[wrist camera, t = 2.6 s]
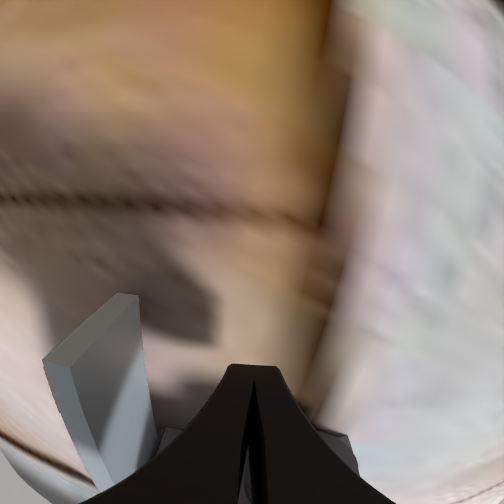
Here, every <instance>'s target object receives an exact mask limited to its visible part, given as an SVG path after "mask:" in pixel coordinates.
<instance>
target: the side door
mask: <svg viewBox="0 0 504 504" xmlns="http://www.w3.org/2000/svg"><path fill="white" fill-rule="evenodd" d="M42 361H43V365H44V371H45V374H46V377H47V380H48V383H49V386H50V389H51V392H52V394H53V397H54V400H55V403H56V405H57V408H58V410H59V413H61V416H62V418H63V421H64V423H65V425H66V428H67V430H68V432H69V435H70V437H71V439H72V441H73V443H74V445H75V447H76V450H77V452H78V454H79V456H80V458H81V460H82V462H83V464H84V465H85V467H86V469H87V471H88V473H89V475H90V477H91V478H92V480H93V482H94V484H95V485H96V487H97V489H98V490H99V492H100V493H101V492H103V491H105V490H107V489H108V488H110V487H112V486H114V485H115V484H117V483H119V482H121V481H122V480H124V479H125V478H127V477H128V476H130V475H131V474H133V473H134V472H135V471H137V470H138V469H139V468H141V467H142V466H143V465H145V464H146V463H147V462H149V461H150V460H151V459H153V458H154V457H155V456H156V454H157V452H158V449H159V443H158V438H157V433H156V428H155V423H154V417H153V412H152V406H151V400H150V394H149V387H148V381H147V374H146V366H145V358H144V350H143V341H142V331H141V320H140V308H139V295H132V294H124V293H116V294H115V295H114V296H112V297H111V298H110V299H109V300H108V301H107V302H105V303H104V304H103V305H102V306H101V307H100V308H98V309H97V310H96V311H95V312H94V313H93V314H92V315H91V316H89V317H88V318H87V319H86V320H85V321H84V322H83V323H81V324H80V325H79V326H78V327H77V328H76V329H75V330H74V331H73V332H71V333H70V334H69V335H68V336H67V337H66V338H65V339H64V340H63V341H62V342H61V343H59V344H58V345H57V346H56V347H55V348H54V349H53V350H52V351H51V352H50V353H49V354H48V355H47V356H45V357H44V358H43V359H42Z"/></svg>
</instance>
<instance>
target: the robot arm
mask: <svg viewBox="0 0 504 504" xmlns="http://www.w3.org/2000/svg"><path fill="white" fill-rule="evenodd" d="M247 449H248V454H249V470H250V485H251V499H252V504H396V503H394V502H393V501H391V500H390V499H389V498H387V497H386V496H384V495H383V494H382V493H380V492H379V491H377V490H376V489H375V488H373V487H372V486H371V485H369V484H368V483H367V482H366V481H364V480H363V479H362V478H361V477H360V476H359V475H358V474H357V473H355V472H354V471H353V470H352V469H351V468H350V467H349V466H348V465H347V464H346V463H345V462H344V461H343V460H342V459H341V458H340V457H339V456H338V455H337V454H336V453H335V452H334V451H333V450H332V449H331V447H330V446H329V445H328V444H327V443H326V442H325V440H324V439H323V438H322V437H321V436H320V434H319V433H318V432H317V431H316V429H315V428H314V427H313V425H312V424H311V423H310V421H309V420H308V418H307V417H306V415H305V414H304V412H303V411H302V409H301V408H300V406H299V405H298V403H297V402H296V400H295V398H294V397H293V395H292V393H291V392H290V390H289V388H288V386H287V384H286V382H285V380H284V378H283V376H282V374H281V372H280V370H279V369H278V367H277V366H260V365H245V364H231V365H229V366H228V367H227V370H226V372H225V374H224V376H223V378H222V380H221V381H220V383H219V385H218V386H217V388H216V389H215V391H214V392H213V394H212V395H211V397H210V398H209V399H208V401H207V402H206V403H205V405H204V406H203V407H202V409H201V410H200V411H199V413H198V414H197V415H196V416H195V417H194V418H193V419H192V421H191V422H190V423H189V424H188V425H187V426H186V427H185V429H184V430H183V431H182V432H181V433H180V434H179V435H178V436H177V437H176V438H175V439H174V440H173V441H172V442H171V443H170V444H169V445H168V446H166V447H165V448H164V449H163V450H162V451H161V452H160V453H159V454H157V455H156V456H155V457H154V458H153V459H151V460H150V461H149V462H147V463H146V464H145V465H143V466H142V467H141V468H139V469H138V470H137V471H135V472H134V473H133V474H131V475H130V476H128V477H127V478H125V479H124V480H122V481H121V482H119V483H117V484H115V485H114V486H112V487H110V488H108V489H107V490H105V491H103V492H101V493H99V494H97V495H95V496H94V497H92V498H90V499H88V500H86V501H84V502H82V503H79V504H238V500H239V494H240V489H241V483H242V478H243V472H244V466H245V460H246V454H247Z"/></svg>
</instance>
